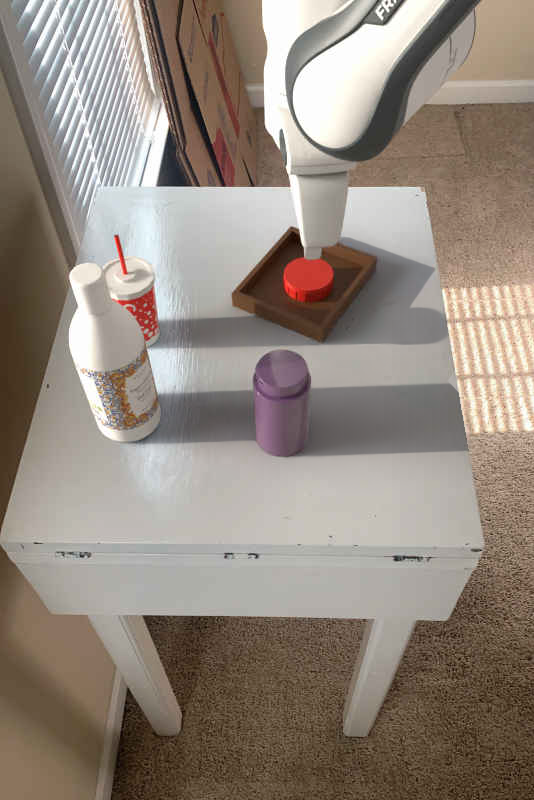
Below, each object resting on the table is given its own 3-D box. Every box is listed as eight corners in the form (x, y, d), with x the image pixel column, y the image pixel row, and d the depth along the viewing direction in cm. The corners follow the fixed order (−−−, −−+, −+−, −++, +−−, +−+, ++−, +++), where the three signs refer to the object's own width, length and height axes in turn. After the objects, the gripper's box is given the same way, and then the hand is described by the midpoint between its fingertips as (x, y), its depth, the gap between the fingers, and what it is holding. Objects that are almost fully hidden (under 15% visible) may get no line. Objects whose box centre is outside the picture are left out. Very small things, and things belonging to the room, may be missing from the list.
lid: (284, 303, 83) (284, 291, 81) (282, 269, 86) (282, 257, 85) (334, 301, 83) (335, 289, 81) (330, 267, 86) (331, 255, 85)
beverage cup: (103, 339, 81) (73, 241, 69) (138, 309, 84) (114, 209, 72) (142, 361, 79) (118, 264, 67) (176, 329, 82) (159, 231, 70)
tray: (290, 238, 90) (290, 225, 89) (375, 270, 87) (377, 257, 85) (232, 305, 84) (231, 293, 82) (321, 342, 80) (322, 330, 78)
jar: (289, 406, 75) (290, 337, 66) (318, 441, 72) (323, 374, 64) (245, 429, 73) (240, 361, 65) (274, 465, 71) (273, 400, 62)
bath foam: (134, 455, 72) (89, 314, 55) (84, 426, 74) (27, 282, 57) (175, 411, 75) (144, 264, 58) (126, 384, 77) (83, 236, 60)
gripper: (266, 53, 71) (269, 174, 83) (290, 170, 60) (289, 291, 72) (326, 49, 71) (320, 170, 83) (361, 164, 60) (348, 286, 72)
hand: (306, 227), depth 77 cm, fingers open, 8 cm apart
